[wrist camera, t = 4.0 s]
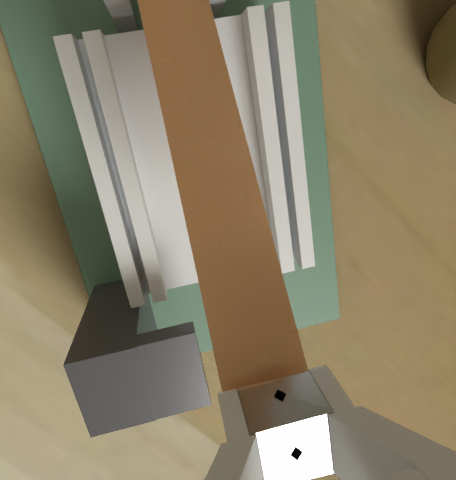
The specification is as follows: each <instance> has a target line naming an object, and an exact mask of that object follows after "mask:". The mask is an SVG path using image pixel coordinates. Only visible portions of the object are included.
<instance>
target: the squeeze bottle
mask: <svg viewBox="0 0 456 480" xmlns="http://www.w3.org/2000/svg"><path fill="white" fill-rule="evenodd" d="M426 69H427V73H428V76H429V80H430V83H431V85H432V86H433V88H434V89H435V90H436V91H437V92H438V93H439V95H440V96H441V97H443V98H445V99H447V100H449V101H451V102H453V103H455V104H456V3H455V4H453V5H452V6H451V7H450V8H449V9H448V11H447V12H446V13H445V14H444V15H443V17H442V18H441V19H440V20H439V21H438V23H437V24H436V25H435V27H434V30H433V32H432V35H431V37H430V40H429V42H428V45H427V54H426Z"/></svg>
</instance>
